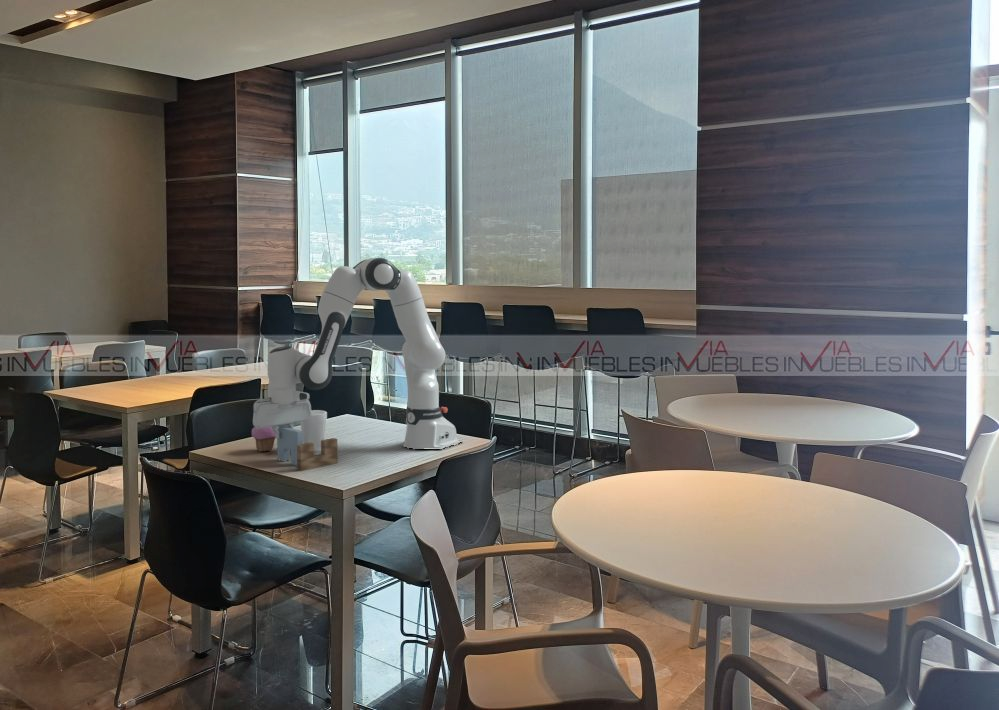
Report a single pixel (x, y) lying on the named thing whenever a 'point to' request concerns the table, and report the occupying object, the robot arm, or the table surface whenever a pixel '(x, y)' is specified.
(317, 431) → the foam cup
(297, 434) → the pale blue arch brick
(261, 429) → the cupcake
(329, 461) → the notched wood cradle
